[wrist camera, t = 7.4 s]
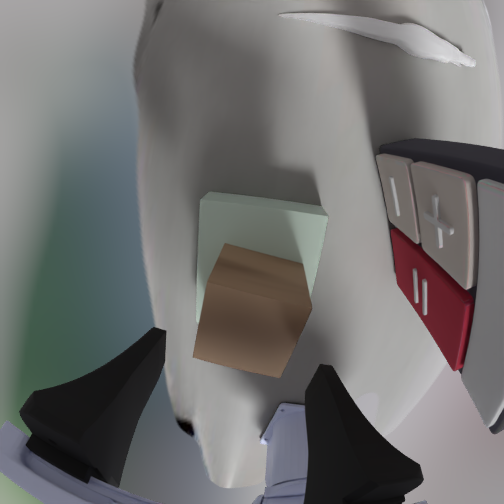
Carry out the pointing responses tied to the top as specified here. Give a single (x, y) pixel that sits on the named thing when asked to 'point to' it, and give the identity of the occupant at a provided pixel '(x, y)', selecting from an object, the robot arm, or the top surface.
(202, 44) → the top surface
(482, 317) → the calculator
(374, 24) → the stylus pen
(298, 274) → the walnut cube
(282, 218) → the block
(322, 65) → the top surface
